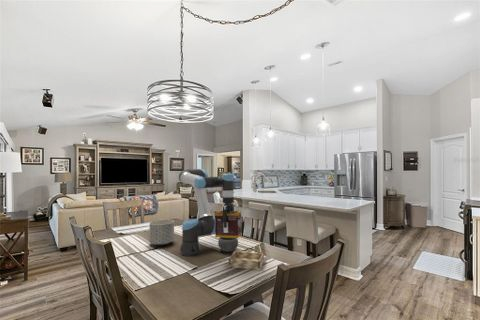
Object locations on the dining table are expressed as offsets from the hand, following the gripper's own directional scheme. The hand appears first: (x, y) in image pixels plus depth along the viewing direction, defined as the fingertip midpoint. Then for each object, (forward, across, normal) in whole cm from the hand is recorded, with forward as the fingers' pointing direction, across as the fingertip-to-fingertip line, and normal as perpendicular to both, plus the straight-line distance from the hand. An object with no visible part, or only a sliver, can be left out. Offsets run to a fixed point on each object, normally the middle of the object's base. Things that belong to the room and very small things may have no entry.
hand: (228, 230), depth 160 cm
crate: (+21, +2, -11) cm, 24 cm away
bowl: (+20, +21, +9) cm, 31 cm away
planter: (+19, +20, +66) cm, 71 cm away
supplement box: (+4, 0, 0) cm, 4 cm away
